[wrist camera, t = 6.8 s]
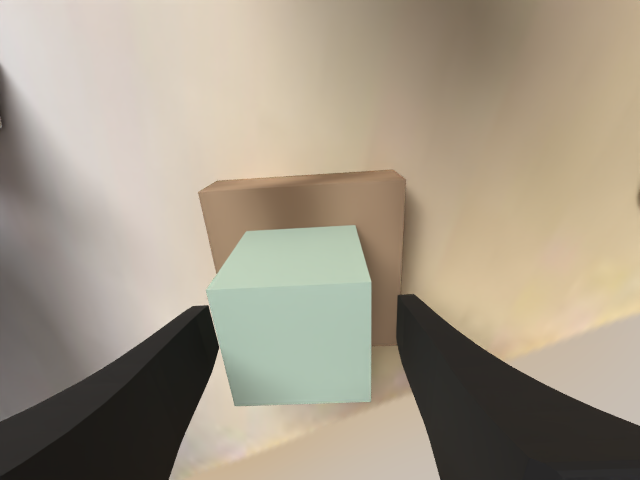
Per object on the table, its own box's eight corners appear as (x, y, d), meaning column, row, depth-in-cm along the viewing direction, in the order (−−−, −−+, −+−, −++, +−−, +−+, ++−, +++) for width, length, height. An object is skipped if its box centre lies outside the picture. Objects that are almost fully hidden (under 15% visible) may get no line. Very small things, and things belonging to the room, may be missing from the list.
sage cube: (355, 224, 13) (371, 282, 9) (357, 315, 15) (370, 401, 11) (246, 231, 14) (205, 290, 9) (261, 320, 15) (234, 406, 11)
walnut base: (390, 168, 15) (405, 179, 13) (386, 311, 19) (398, 344, 16) (220, 178, 16) (198, 192, 13) (247, 318, 19) (234, 352, 16)
